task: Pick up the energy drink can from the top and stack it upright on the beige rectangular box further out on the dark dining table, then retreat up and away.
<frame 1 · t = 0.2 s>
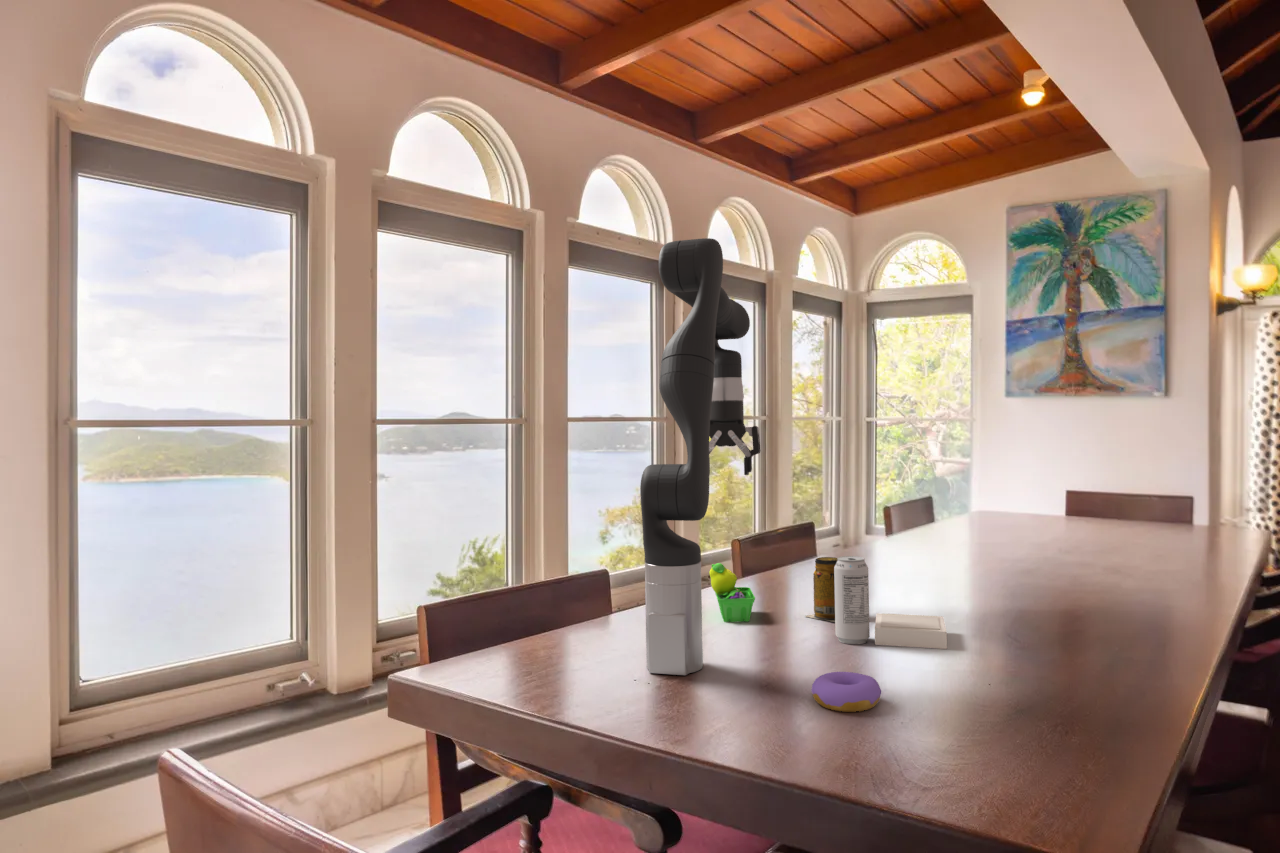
hand: (727, 474, 179), 29 cm above the table, tool pointing down, fingers open, 8 cm apart
condiment: (832, 618, 170), on the table
energy drink can: (852, 641, 151), on the table
donut: (846, 705, 117), on the table
fruit basket: (731, 618, 172), on the table
beige rectangular box: (910, 638, 152), on the table
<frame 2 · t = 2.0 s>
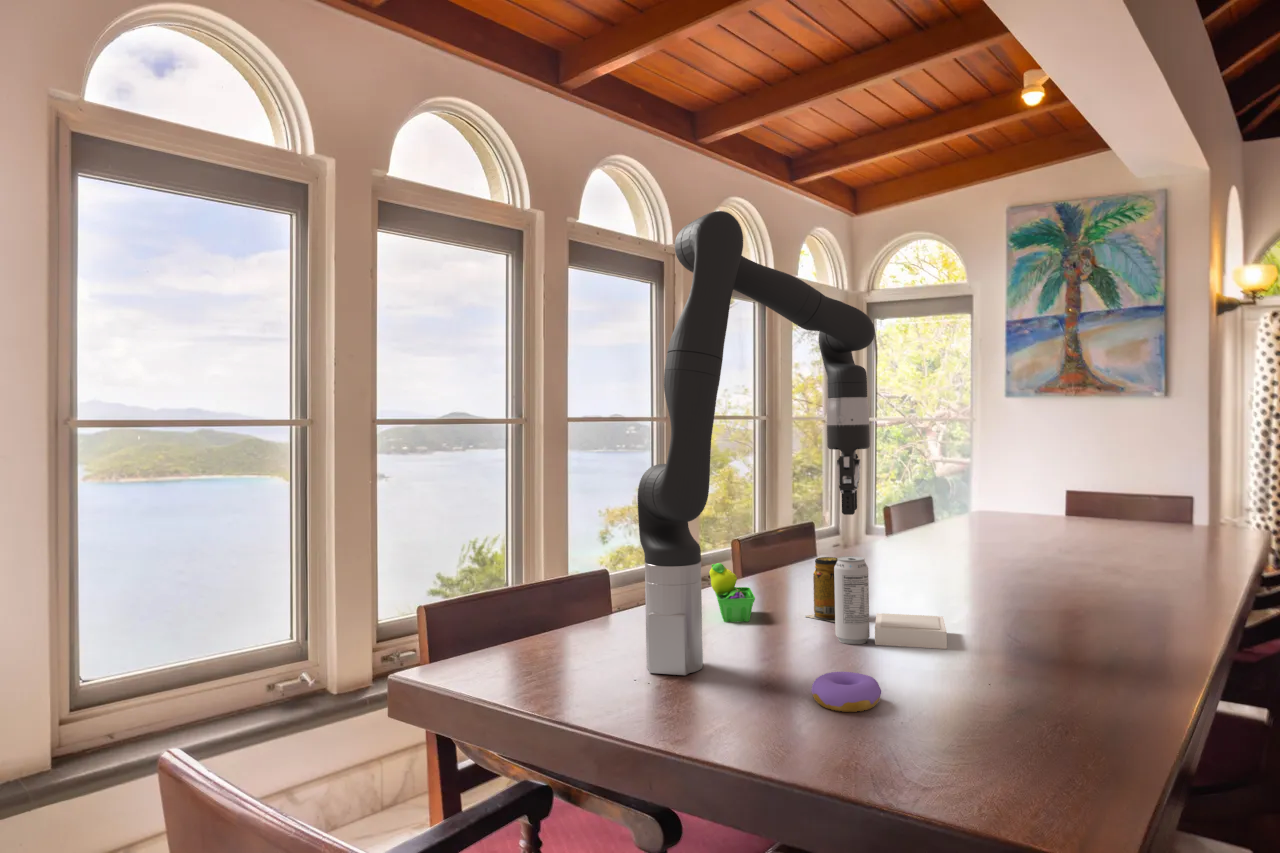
hand: (849, 512, 151), 23 cm above the table, tool pointing down, fingers open, 8 cm apart
nothing on the table moved.
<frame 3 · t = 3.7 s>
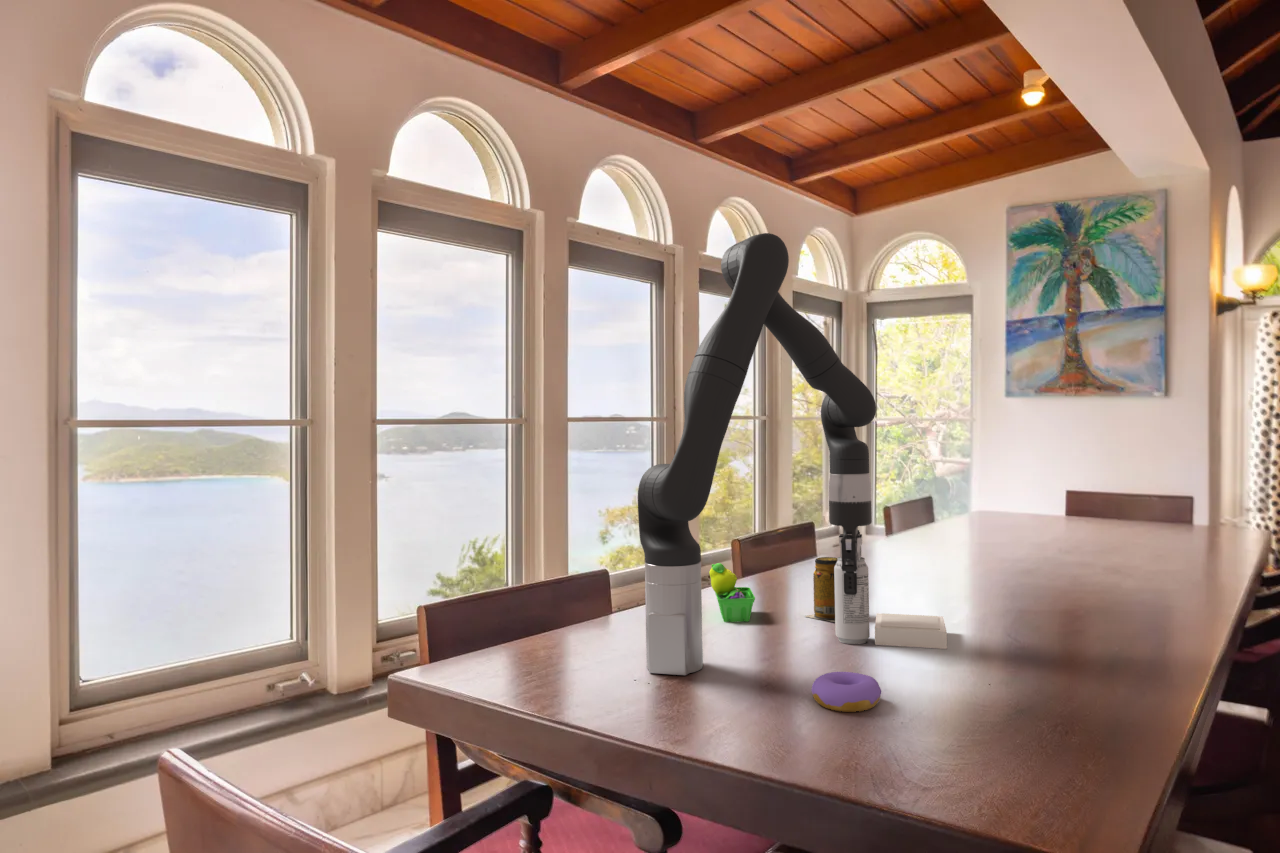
hand: (851, 590, 151), 9 cm above the table, tool pointing down, fingers closed on energy drink can, 6 cm apart
energy drink can: (852, 641, 151), on the table, touching gripper
everything else where it was.
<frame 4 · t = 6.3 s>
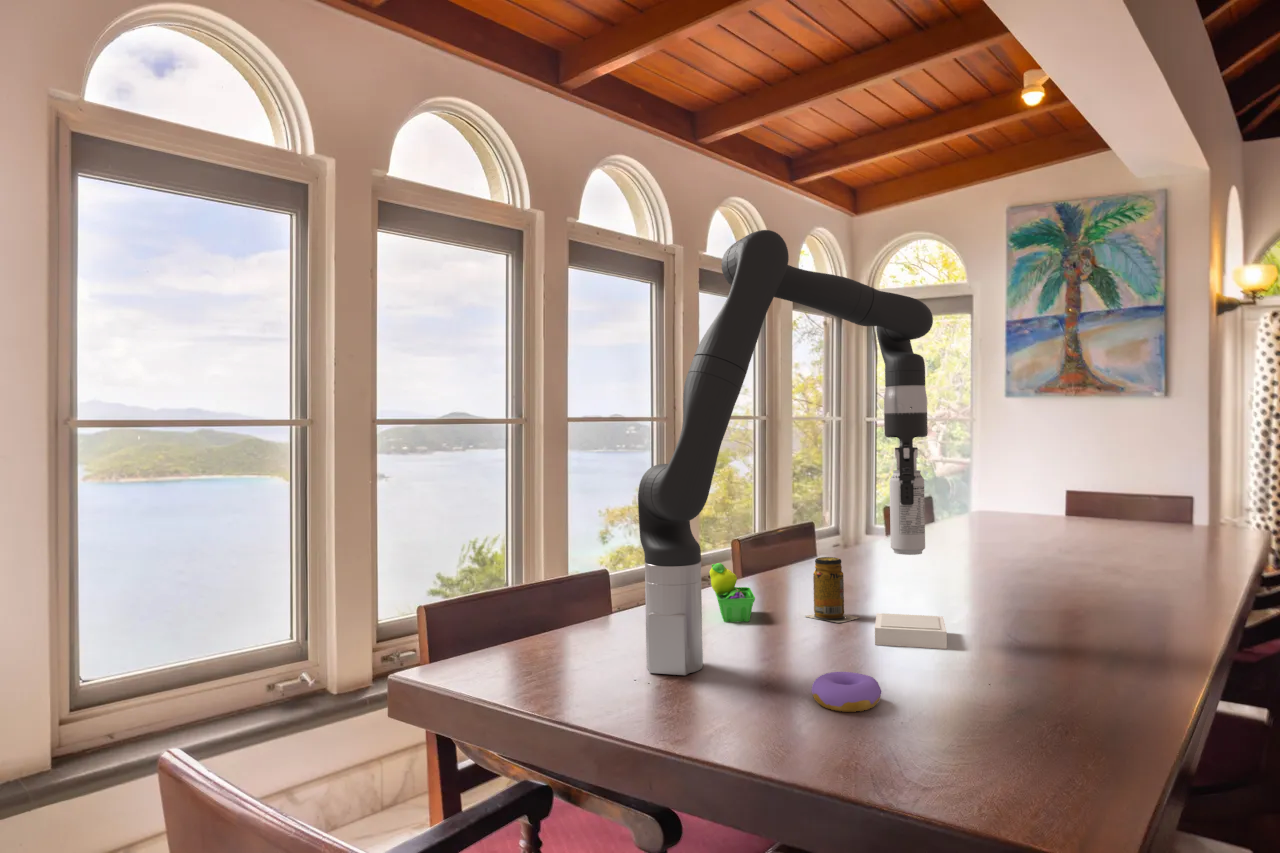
hand: (907, 502, 152), 25 cm above the table, tool pointing down, fingers closed on energy drink can, 6 cm apart
energy drink can: (907, 553, 152), point 15 cm above the table, touching gripper
everything else where it was.
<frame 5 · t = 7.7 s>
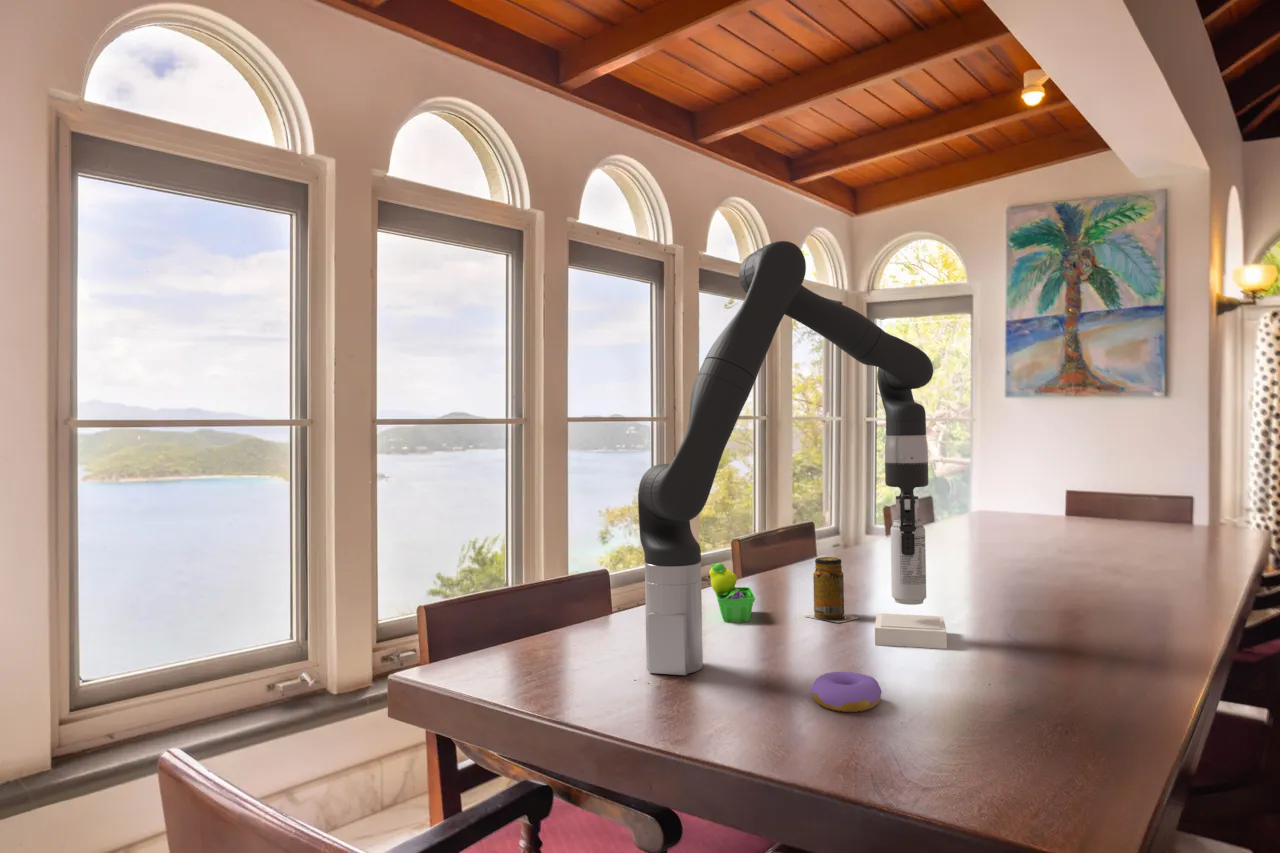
hand: (908, 551, 152), 16 cm above the table, tool pointing down, fingers closed on energy drink can, 6 cm apart
energy drink can: (909, 603, 152), point 6 cm above the table, touching gripper
everything else where it was.
when the fingers open (13 cm above the table, at t = 8.9 s): energy drink can stays where it is, resting on beige rectangular box.
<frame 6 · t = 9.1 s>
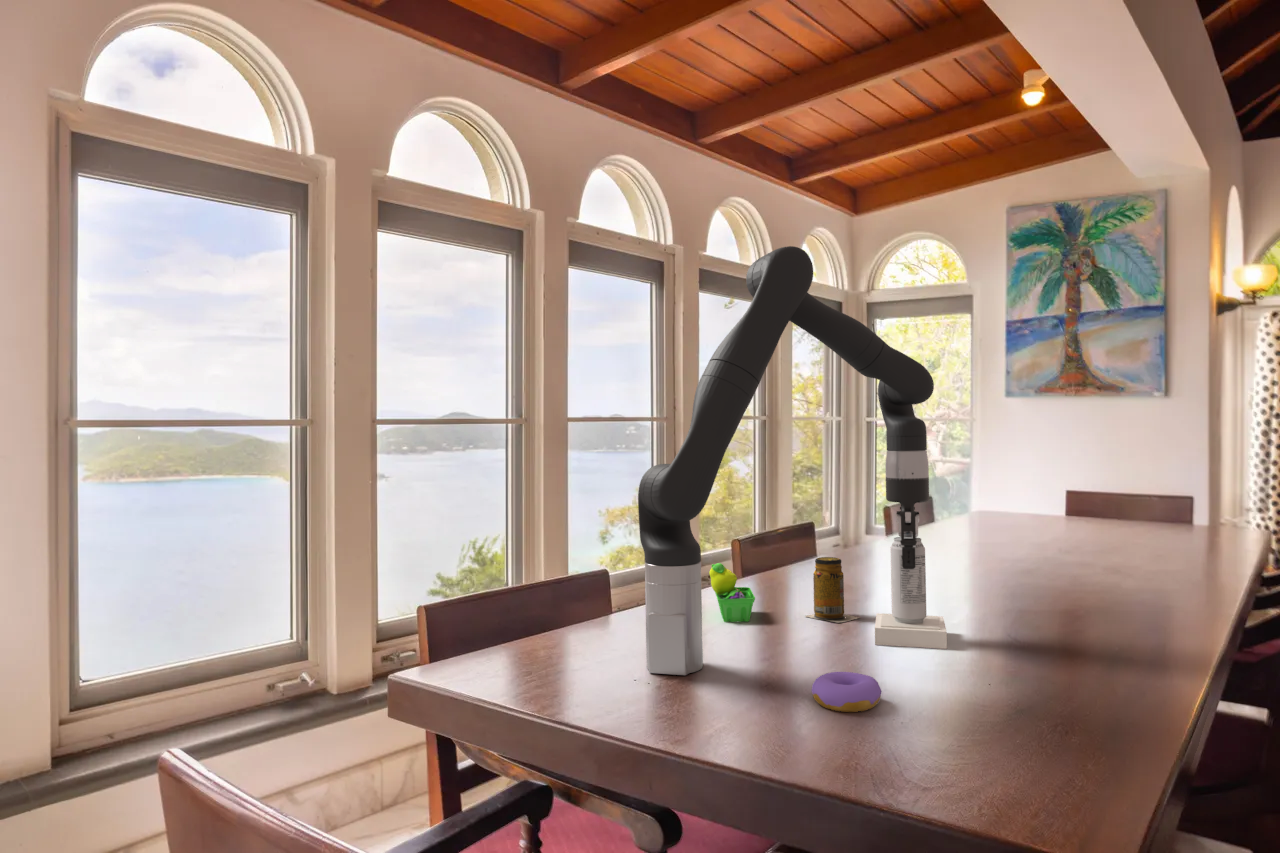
hand: (908, 564, 152), 13 cm above the table, tool pointing down, fingers open, 7 cm apart
energy drink can: (909, 621, 152), point 3 cm above the table, touching beige rectangular box
everything else where it was.
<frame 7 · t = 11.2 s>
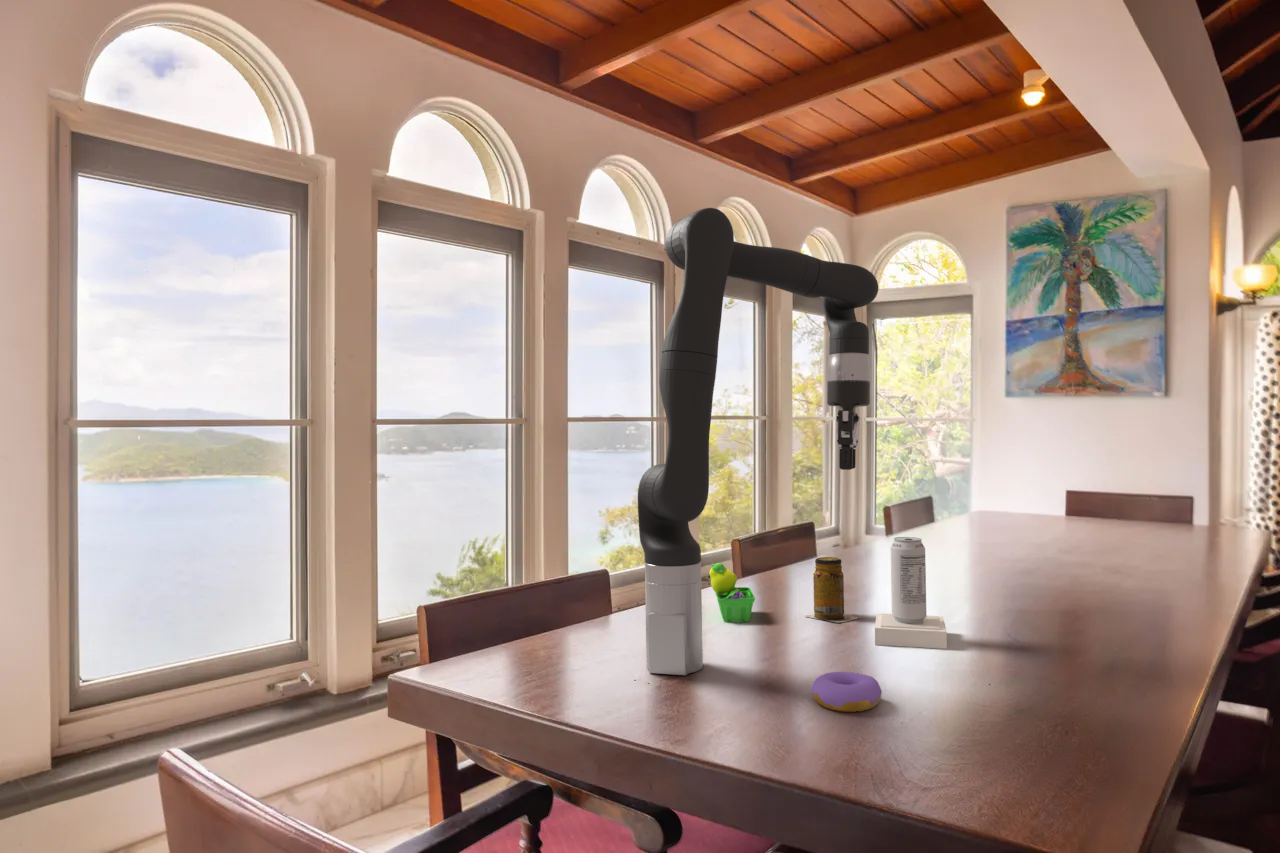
hand: (847, 469, 151), 31 cm above the table, tool pointing down, fingers open, 8 cm apart
nothing on the table moved.
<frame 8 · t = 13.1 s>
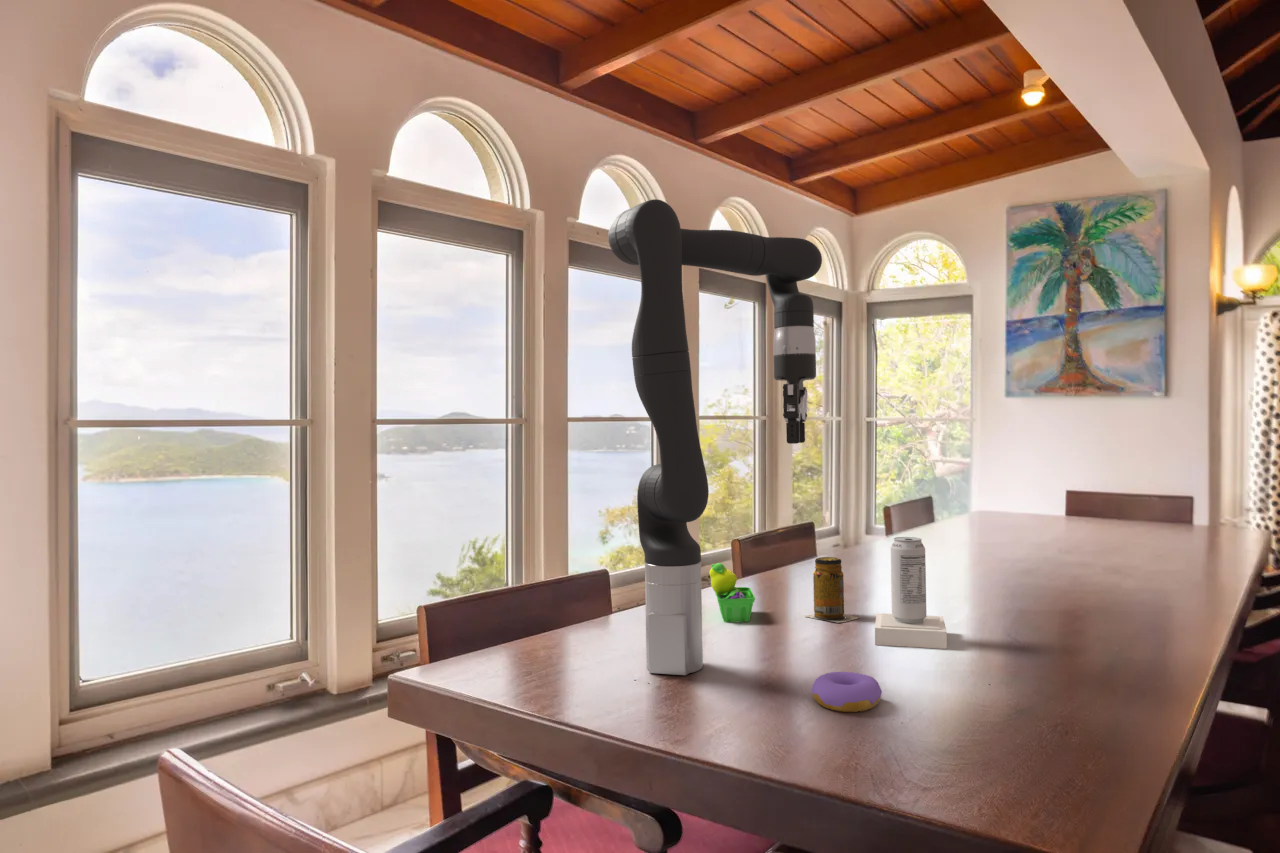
hand: (796, 443, 150), 36 cm above the table, tool pointing down, fingers open, 8 cm apart
nothing on the table moved.
at the end: energy drink can inside the target area on the beige rectangular box (0.1 cm from its centre), point 3.1 cm above the beige rectangular box's base; energy drink can tilted 0°; the gripper is holding nothing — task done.
